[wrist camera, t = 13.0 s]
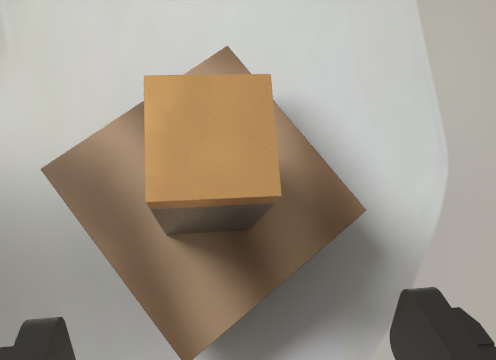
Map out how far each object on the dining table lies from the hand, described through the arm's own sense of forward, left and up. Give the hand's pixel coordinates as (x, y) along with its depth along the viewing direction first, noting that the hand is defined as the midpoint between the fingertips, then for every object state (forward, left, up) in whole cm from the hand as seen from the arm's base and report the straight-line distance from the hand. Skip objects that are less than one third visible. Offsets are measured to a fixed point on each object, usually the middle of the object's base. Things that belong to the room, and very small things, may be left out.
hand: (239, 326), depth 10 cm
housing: (+4, +5, -15) cm, 16 cm away
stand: (+4, +5, -20) cm, 21 cm away
